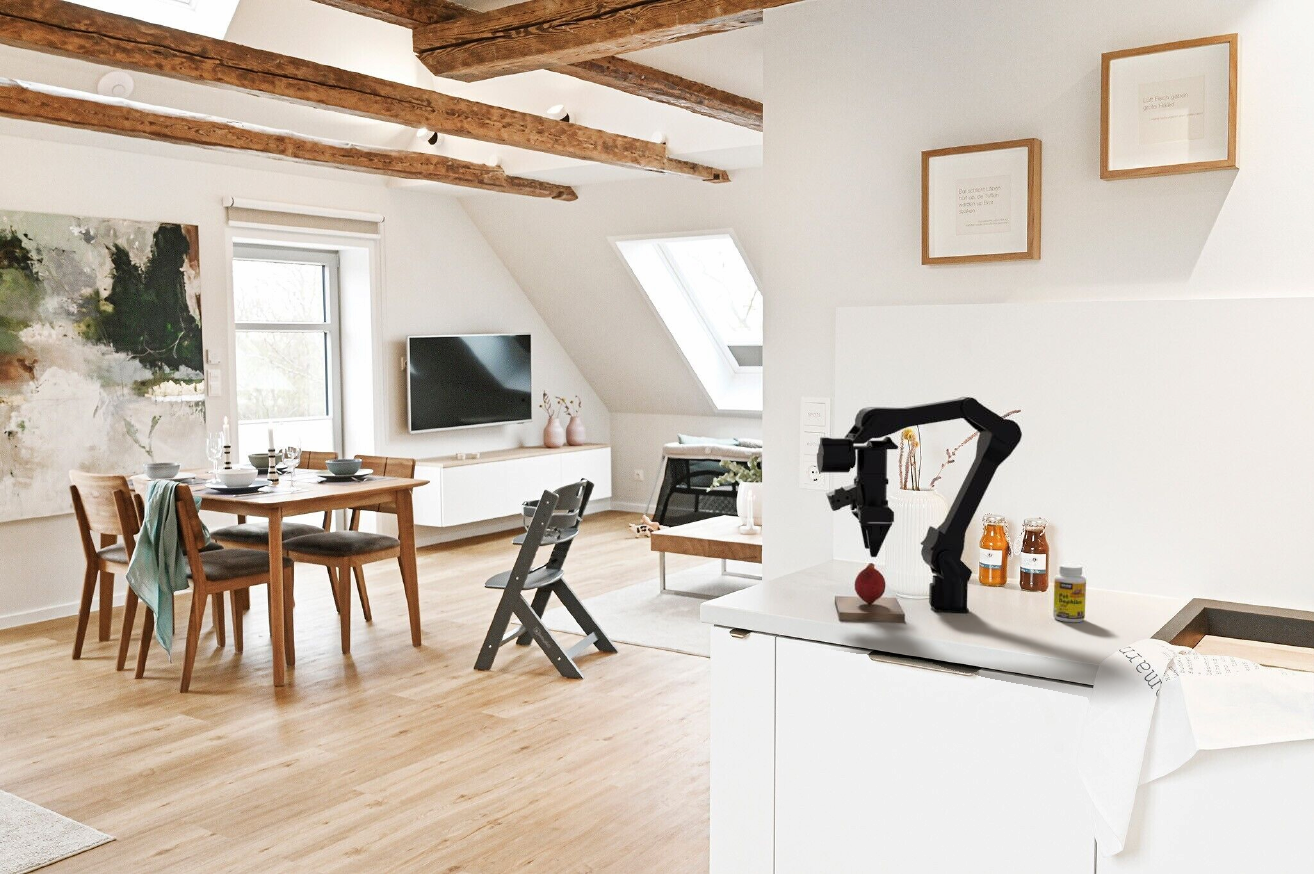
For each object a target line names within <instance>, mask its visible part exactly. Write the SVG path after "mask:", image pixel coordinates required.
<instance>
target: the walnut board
mask: <svg viewBox="0 0 1314 874" xmlns="http://www.w3.org/2000/svg"><path fill="white" fill-rule="evenodd" d="M834 606H835V610H836V613H837V617H838V621H847V622H848V621H850V622H851V621H853V622H854V621H855V622H886V623H888V622H889V623H895V622H896V623H905V621H906V613H905V611H904V609H903V608H902V606H901V603H899V601H898V599H897V597H890V596H889V597H887V596H886V597H885V596H881V597H880V598H879V599H877V600H876V601H875V602H874V603H873V604H867V603H866V602H865V601H863V600H862V599H861V598H860V597H859V596H852V595H849V596H846V595H844V596H843V595H834Z"/></svg>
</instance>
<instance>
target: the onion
mask: <svg viewBox="0 0 1314 874" xmlns="http://www.w3.org/2000/svg"><path fill="white" fill-rule="evenodd" d="M886 586H887V585H886V580H885V577H884V575H883V574H882V573H881V572H880V571H879V570H878V569H877V568H875V564H874V563H873V562H869V563H868V565H867V566H866V567H865V568H863V569H862V570H861V571H860V572H859V573H858V574H857V576H856V578H855V580H854V591H855V592H856V594H857V597H860V598H861V599H862V600H863V601H865V602H866V603H867V604H873V603H874V602H875V601H876V600H877V599H879V598H880V597H883V595H884V594H885V592H886V591H885V590H886Z"/></svg>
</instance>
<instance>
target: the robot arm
mask: <svg viewBox="0 0 1314 874" xmlns="http://www.w3.org/2000/svg"><path fill="white" fill-rule="evenodd" d="M960 419H962V420H965V422H966V423H967V424H968V425H970V427H972V428H973V429H974V430H976V431H977V432H978V433H979V434H978V438H977V442H976V452H975V458H974V460H973V462H972V464H971V466H970V468H969V470H968V472H967V474H966V476H965V478H964V480H963V482H962V484H961V486H960V488H959V490H958V493H957V495H956V497H955V498H954V500H953V502H952V505H951V506H950V507H949V510H948V513H947V515H946V516H945V518H944V521H943V522H942V523H941V524H940V525H939V526H937V528H935V526H932V525H930V526H928V529H927V533H926V536H925V537H924V538H923V540H922V541H921V542H920V545H921V546H922V547H921V552H920V555H921V557H922V560H923V561H924V564H926V565H928V566H929V568H930V571H931V573H932V574H933V575H932V582H930V583H929V584H928V585H929V589H928V593H929V594H928V597H929V598H928V604H929V606H930V607H931V608H932V610H933V611H934V612H946V613H947V612H950V613H952V612H954V613H969V612H970V609H969V608H968V588H969V585H968V584H969V582H970V579H971V576H972V574H973V571H972V569H970V568H969V566H967V564H966V563H965V562H964V561H962V560H961V559H962V557H963V553H964V549H965V542H966V541H965V540H966V534H967V530H968V528H969V526H970V524H971V522H972V520H973V518H974V516H975V514H976V512H977V510H978V508H979V506H980V504H981V502H982V499H983V498H984V496H985V494H986V491H987V490H988V488H989V487H990V486H989V485H990V483H991V482H992V480H993V478H994V475H995V473H996V471H997V469H998V468H999V467H1000V465H1002V464H1003V463H1004V461H1005V460H1007V459H1008V458H1009V457H1010V456H1011V455H1012V453H1013V452H1014V451H1015V449H1016V448H1017V447H1018V445H1019V444H1020V442H1021V440H1022V436H1023V433H1022V430H1021V427H1020V425H1019V424H1018V423H1017V422H1015V421H1014V420H1012V419H1008V418H1003V417H1002V416H1000V415H999V414H998V413H996V412H994V411H993V410H991V409H990V408H988V407H987V406H985V405H983V404H982V403H980V402H979V401H978V400H977V399H976V398H974V397H970V396H961V397H957V398H955V399H949V400H942V401H937V402H936V401H935V402H930V403H923V404H917V405H916V404H915V405H911V406H904V407H887V406H882V407H881V406H867V407H863V408H861V409H860V410H859V411H858V413H857V414H856V416H855V418H854V424H853V426H852V427H851V428H850V429H849V431H848V432H847V433H846V435H845V436H844V437H842V438H841V437H838V438H837V437H836V438H835V437H834V438H833V437H828V436H825V437H823V436H821V437H820V438H819V445H818V450H817V453H816V466H817V469H818V473H822V474H824V473H828V474H829V473H833V474H834V473H842V474H843V473H850V472H851V469H854V468H855V467H856V476H855V477H854V478H853V483H852V484H850V485H847V486H840V487H839V488H835V489H834V490H832V491H828V492H827V493H826V497H827V500H828V503H829V507H830V509H831V510H832V512H833V511H834V512H836V511H839V510H841V509H842V508H845V507H848V506H850V510H851V514H852V515H853V516H854V517H855V518H856V519H857V520H858V523H859V525H860V530H861V536H862V541H863V546H864V549H866V550H867V549H869V556H870V557H871V558H876V557H878V554H879V553H880V551H881V548H882V546H883V544H884V541H885V539H886V537H887V535H888V533H889V531H890V529H891V527H892V526H893V523H895V512H894V511H893V510H892V509H891V508H890V506H889V500H888V499H887V497H888V496H887V493H888V491H887V489H888V488H887V487H888V486H887V485H889V478H888V450H898V449H899V446H898V444H897V443H895V442H894V440H892V438H891V437H890V436H889V435H892V434H895V433H897V432H899V431H902V430H904V429H906V428H910V427H914V426H915V427H916V426H922V425H929V424H934V423H941V422H948V421H953V420H960ZM880 438H883V439H882V440H880ZM873 439H879V440H873ZM857 444H858V445H857ZM859 444H860V445H859ZM864 444H865V445H864Z"/></svg>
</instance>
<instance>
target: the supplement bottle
mask: <svg viewBox="0 0 1314 874" xmlns="http://www.w3.org/2000/svg"><path fill="white" fill-rule="evenodd" d="M1058 573H1059V574H1056V575H1055V576H1054V585H1053V589H1054V590H1053V608H1052V609H1053V610H1052V611H1053V612H1052V613H1053V618H1054V619H1055V620H1056V621H1061V622H1064V623H1065V622H1066V623H1080V622H1083V621H1084V620H1085V617H1086V615H1085V614H1086V598H1087V596H1086V594H1087V578H1086V577H1085V576H1084V575H1083V566H1081V565H1078V564H1074V563H1073V564H1072V563H1062V564H1059V569H1058Z"/></svg>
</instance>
